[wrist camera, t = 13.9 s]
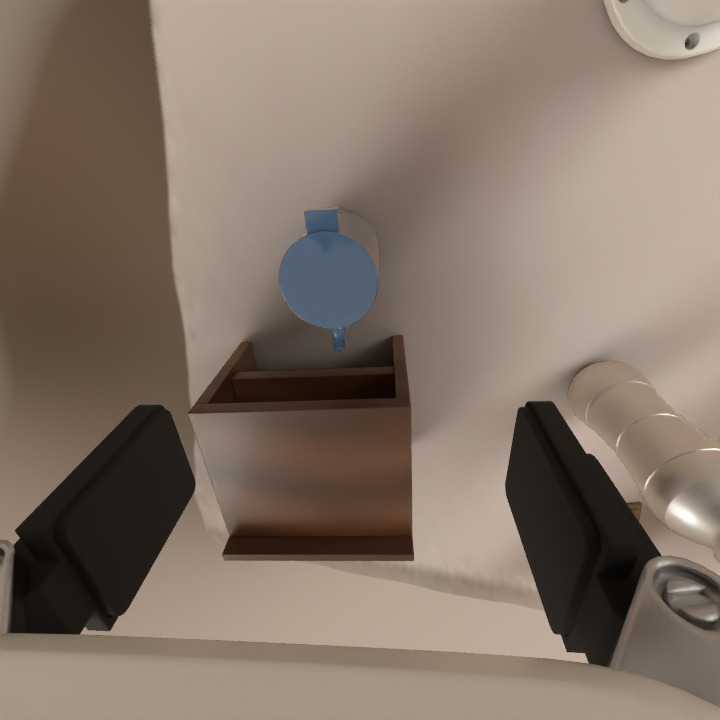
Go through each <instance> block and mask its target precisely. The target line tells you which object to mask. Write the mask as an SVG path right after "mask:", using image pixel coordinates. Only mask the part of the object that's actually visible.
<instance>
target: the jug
mask: <svg viewBox="0 0 720 720" xmlns="http://www.w3.org/2000/svg"><path fill="white" fill-rule="evenodd" d="M304 214H305V221H306V229H307V231H306V232H305V233H304V234H303V235H302V236H301V237H300V238H299V239H298V240H297V241H296V242H295V243H294V244H293V245H292V246H291V247H290V248H289V249H288V251H287V252H286V254H285V255H284V257H283V260H282V262H281V266H280V271H279V284H280V289H281V293H282V295H283V298H284V300H285V302H286V303H287V305H288V306H289V308H290V309H291V310H292V311H293V312H294V314H296V315H297V316H298V317H299V318H300V319H302V320H303V321H305V322H307V323H309V324H311V325H314V326H317V327H320V328H327V329H332V338H333V346H334V349H335V350H336V351H342V350H344V348H345V345H346V340H347V335H348V330H349V325H351V324H353V323H355V322H357V321H358V320H359V319H361V318H362V317H363V316H364V315H365V314H366V313H367V312H368V311H369V309H370V308H371V306H372V305H373V303H374V300H375V298H376V294H377V289H378V270H379V242H378V238H377V235H376V233H375V231H374V229H373V228H372V226H371V225H370V224H369V223H368V222H367V221H366V220H365V219H364V218H363V217H361V216H359V215H358V214H355V213H353V212H349V211H339V208H338V207H331V208H317V209H307V210H306V211H305V212H304Z"/></svg>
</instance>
